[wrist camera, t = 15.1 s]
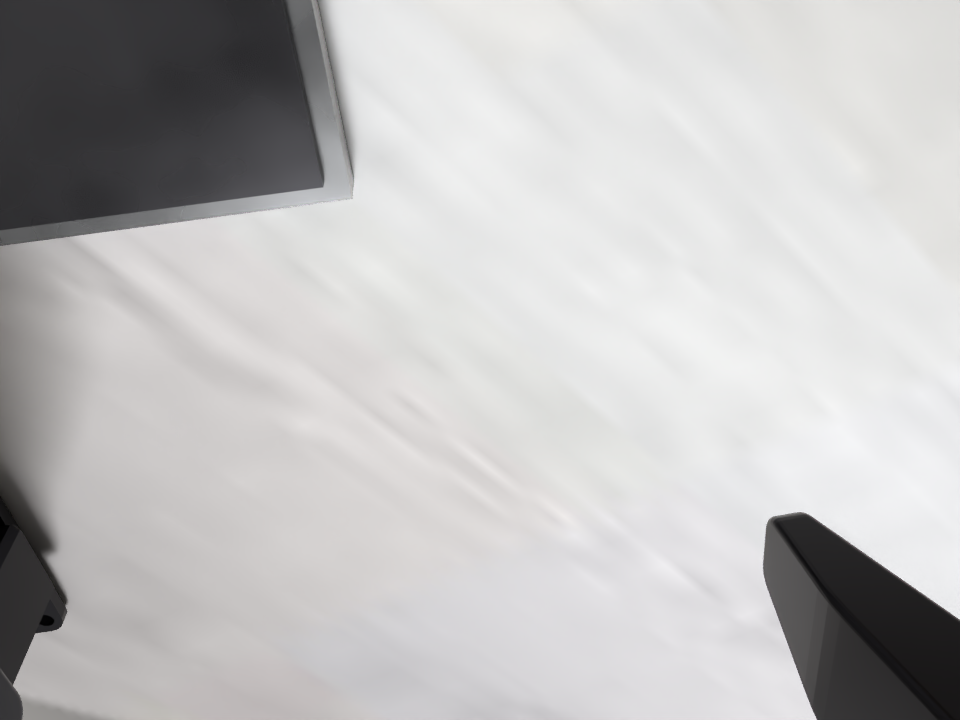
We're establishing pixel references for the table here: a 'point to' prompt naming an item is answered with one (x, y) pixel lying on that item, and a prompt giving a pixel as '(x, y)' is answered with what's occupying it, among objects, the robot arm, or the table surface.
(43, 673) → the table surface
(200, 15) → the ink pad
